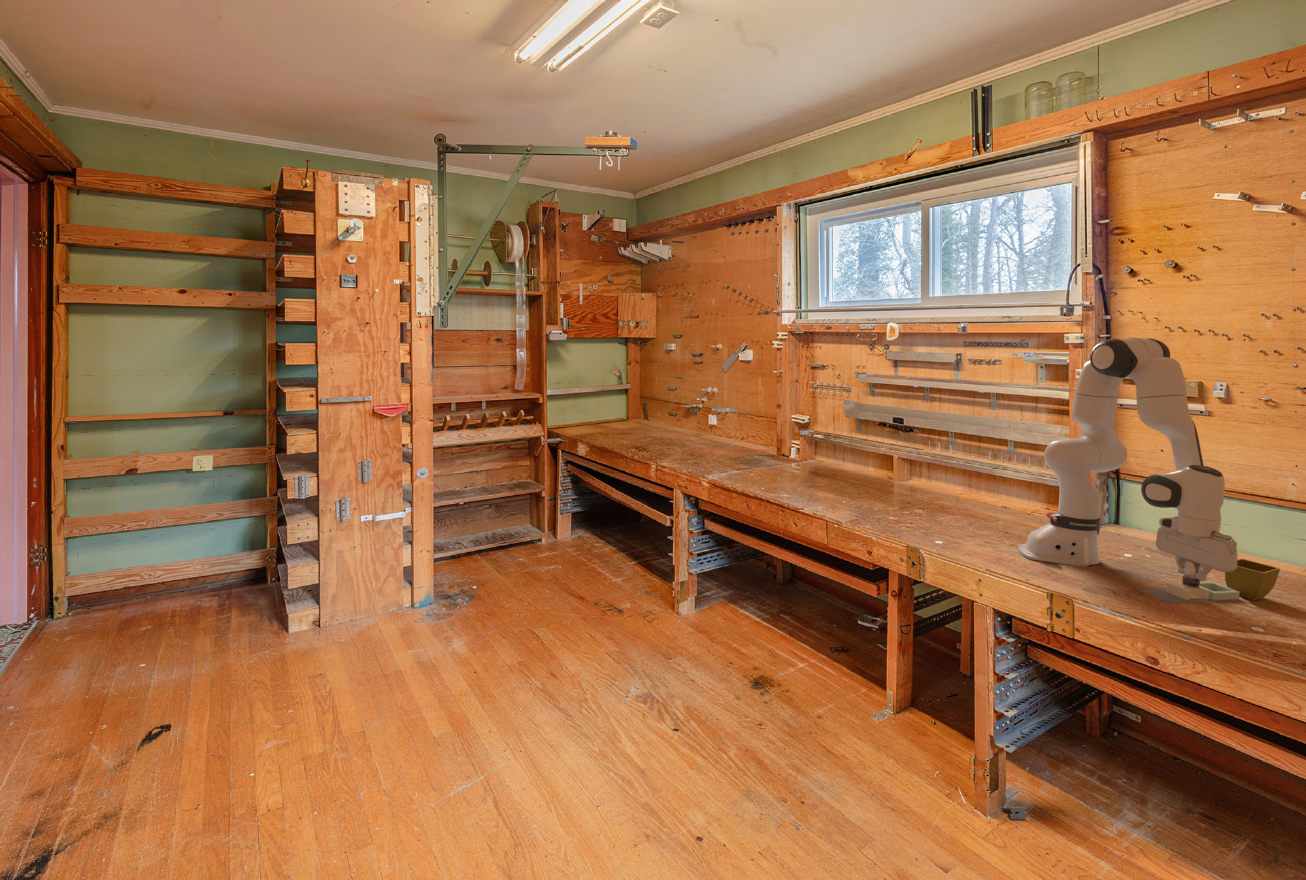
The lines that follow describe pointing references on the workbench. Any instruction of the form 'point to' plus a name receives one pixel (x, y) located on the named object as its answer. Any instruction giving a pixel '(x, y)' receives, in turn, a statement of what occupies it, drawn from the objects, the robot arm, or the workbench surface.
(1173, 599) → the board
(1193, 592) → the cradle
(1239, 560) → the flower pot
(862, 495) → the workbench surface
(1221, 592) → the pale green flat frame
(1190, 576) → the cell
